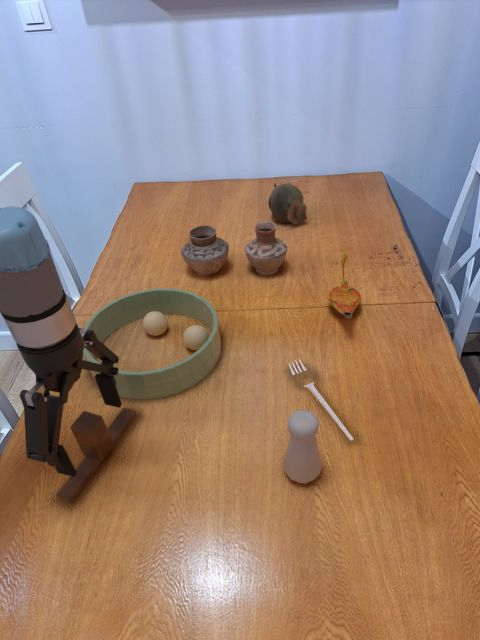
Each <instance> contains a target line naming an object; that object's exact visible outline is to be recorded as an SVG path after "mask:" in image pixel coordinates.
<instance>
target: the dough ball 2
mask: <svg viewBox="0 0 480 640" xmlns="http://www.w3.org/2000/svg"><path fill="white" fill-rule="evenodd" d="M209 336H210V335H209V332H208V330H207V329H206V328H205V327H204V326H202V325H200V324H194V325H193V324H192V325H190V326H188V327H187V328H186V329H185V330H184V331H183V335H182V339H183V340H182V341H183V343H184V345H185V346H186V347H187V349H190V350H192V351H197V350H199V349H200V348H201V347H202V346H203V345H204V343H205V342H206V341H207V340H208V338H209Z"/></svg>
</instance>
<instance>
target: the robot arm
mask: <svg viewBox="0 0 480 640" xmlns="http://www.w3.org/2000/svg"><path fill="white" fill-rule="evenodd" d="M0 314H1V316H2V319H3V321H4V323H5V324H6V327H7V329H8V330H9V332H10V334H11V336H12V338H13V340H14V342H15V343H16V347H17V349H18V351H19V353H20V355H21V357H22V359H23V361H24V363H25V365H26V367H28V368H29V369H30V370H31V371H32V372H33V373H34V376H35V384H34V385H33V386H32V387H31V388H30V389H29V390H28V389H22V390H21V391H20V393H19V398H20V401H21V403H22V406H23V414H24V415H23V417H24V433H25V434H24V435H25V436H24V437H25V452H26V455H25V457H26V459H28V460H32V461H37V462H41V463H47V465H48V466H50V467H53V468H54V469H55V471H56V472H57V474H60V475H64V476H68V477H71V476H72V477H75V475H76V474H77V472H76V468H75V466H74V464H73V462H72V460H71V458H70V456H69V454H68V452H67V450H66V449H65V447H64V445H63V444H60V436H61V428H62V420H63V413H64V407H65V406H64V405H65V404H66V403H68V400H69V393H70V391H71V390H72V388H73V387H74V384H76V382H77V381H78V380H80V378H81V377H82V376H81V374H82V370H86V371H90V372H91V371H96V372H100V374H96V376H95V379H96V381H95V383H96V384H97V387H98V389H99V392H100V395H101V398H102V401H103V403H104V405H105V406H110V407H115V408H121V406H122V400H121V397H119V394H118V391H117V388H116V380H115V377H114V375H117V374H118V371H119V370H120V369H119V367H116V366H114V365H116V364H118V363H119V360H120V359H119V358H120V357H119V356H118V355H117V354H116V353H114V351H113V350H111V349H110V348H108V347H107V346H106V345H105V344H104V342H103V343H101V342H100V341H99V340H98V339H97V337H96V335H95V333H94V331H93V330H88V329H84V328H82V327H79V325H78V324H77V320H76V316H75V313H74V312H73V309H72V307H71V303H70V302H69V299H68V296H67V294H66V291H65V289H64V286H63V284H62V281H61V278H60V275H59V272H58V270H57V267H56V265H55V262H54V258H53V256H52V253H51V248H50V243H49V242H48V240H47V239H46V238H45V236H44V232H43V230H42V229H41V227H40V224H39V222H38V220H37V218H36V216H35V215H34V214H33V213H31V211H29V210H27V209H25V208H23V207H19V206H13V205H8V206H5V207H0ZM84 348H86V349H87V350H88V351H90V352H91V353H92V354H93V355H95V358H97V359H99V360H100V361H101V362H100V364H98V363H93V362H89V361H86V360H84V353H83V351H84ZM95 379H94V380H95ZM50 392H53V393H59V395H55V394H54V395H53V394H51V393H50Z"/></svg>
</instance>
